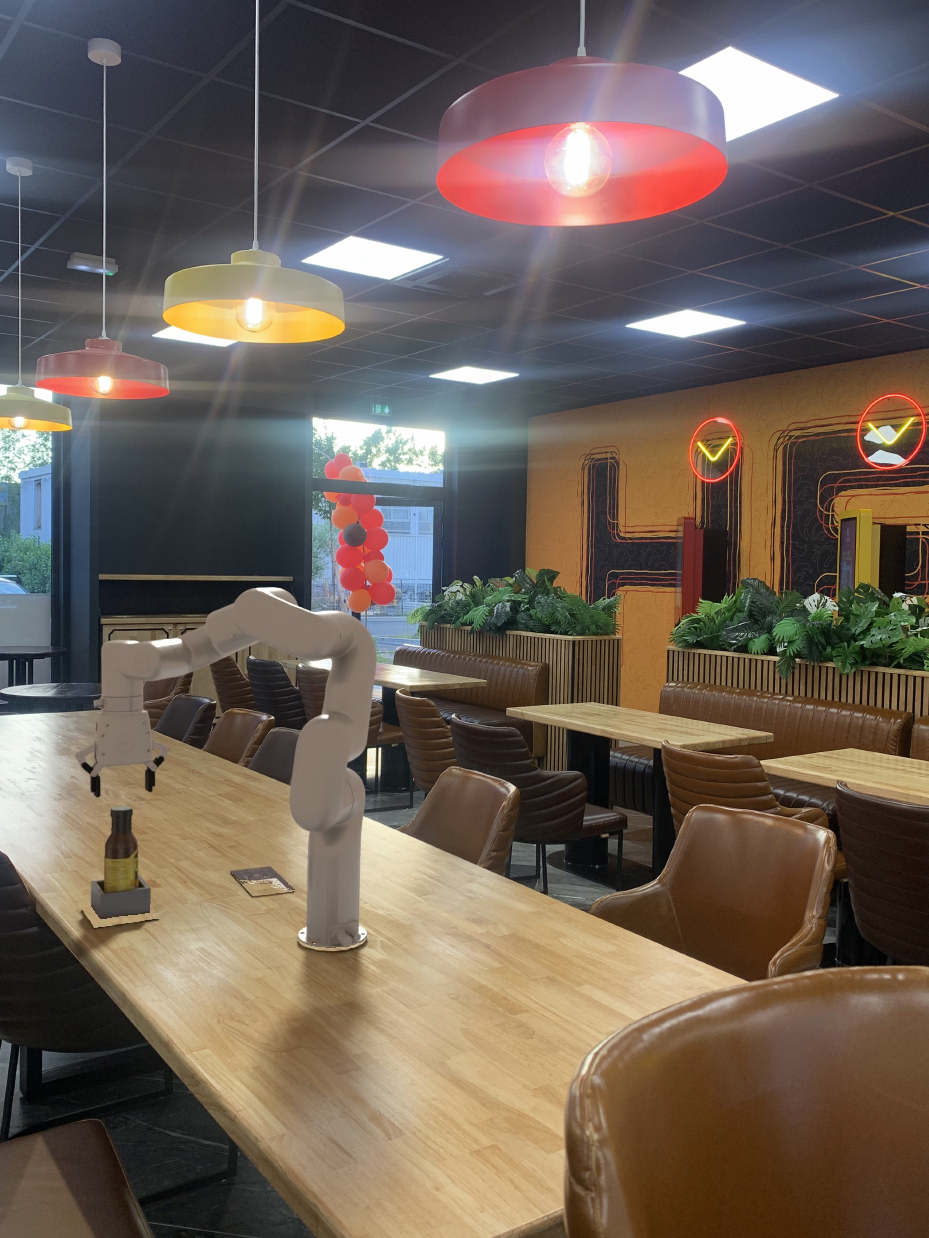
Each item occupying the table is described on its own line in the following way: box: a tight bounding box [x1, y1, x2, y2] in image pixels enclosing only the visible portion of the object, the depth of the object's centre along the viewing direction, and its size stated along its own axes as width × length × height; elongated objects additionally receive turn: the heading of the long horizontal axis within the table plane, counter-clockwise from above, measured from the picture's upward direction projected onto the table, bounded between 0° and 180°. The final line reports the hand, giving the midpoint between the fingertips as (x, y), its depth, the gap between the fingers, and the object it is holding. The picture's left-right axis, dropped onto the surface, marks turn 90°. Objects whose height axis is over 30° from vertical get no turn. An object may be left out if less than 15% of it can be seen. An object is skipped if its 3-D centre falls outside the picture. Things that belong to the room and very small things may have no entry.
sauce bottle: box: [103, 805, 139, 893], centre depth 193 cm, size 6×6×20 cm
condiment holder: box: [90, 874, 152, 919], centre depth 193 cm, size 12×12×6 cm
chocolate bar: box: [230, 865, 296, 891], centre depth 215 cm, size 9×1×18 cm
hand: (123, 793), depth 192 cm, fingers open, 9 cm apart
